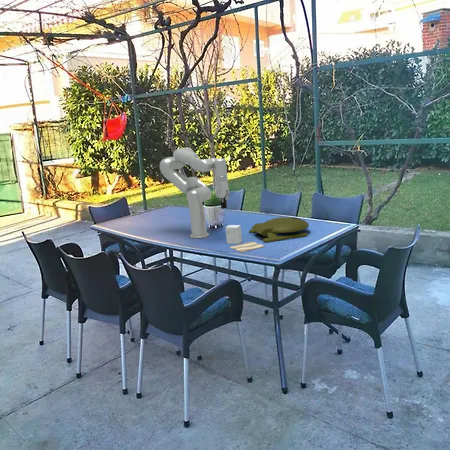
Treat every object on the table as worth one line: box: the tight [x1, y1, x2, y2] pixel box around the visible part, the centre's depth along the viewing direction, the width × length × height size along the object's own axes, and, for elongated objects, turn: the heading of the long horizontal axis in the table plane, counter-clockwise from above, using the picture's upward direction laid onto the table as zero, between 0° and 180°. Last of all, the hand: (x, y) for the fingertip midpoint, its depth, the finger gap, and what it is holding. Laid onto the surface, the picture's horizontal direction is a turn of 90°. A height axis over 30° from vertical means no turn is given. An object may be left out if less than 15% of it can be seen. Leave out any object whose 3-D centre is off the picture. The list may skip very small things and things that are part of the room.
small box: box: [225, 224, 243, 245], centre depth 288 cm, size 8×6×10 cm
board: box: [228, 241, 266, 253], centre depth 277 cm, size 14×16×1 cm
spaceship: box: [248, 216, 310, 243], centre depth 301 cm, size 35×31×10 cm
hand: (224, 208), depth 293 cm, fingers closed
